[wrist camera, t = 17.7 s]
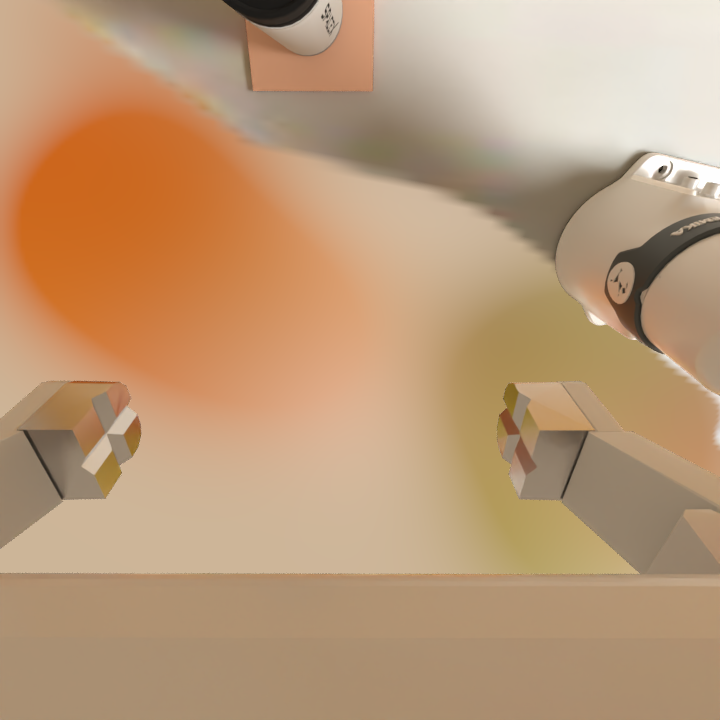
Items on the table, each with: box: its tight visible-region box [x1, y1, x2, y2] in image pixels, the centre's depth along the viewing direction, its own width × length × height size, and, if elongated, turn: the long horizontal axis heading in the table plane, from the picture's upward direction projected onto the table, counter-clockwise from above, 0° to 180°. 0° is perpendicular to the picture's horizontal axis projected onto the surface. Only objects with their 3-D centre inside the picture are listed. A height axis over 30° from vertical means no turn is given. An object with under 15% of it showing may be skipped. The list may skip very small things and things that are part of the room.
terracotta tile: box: [245, 0, 374, 91], centre depth 36 cm, size 11×11×1 cm
